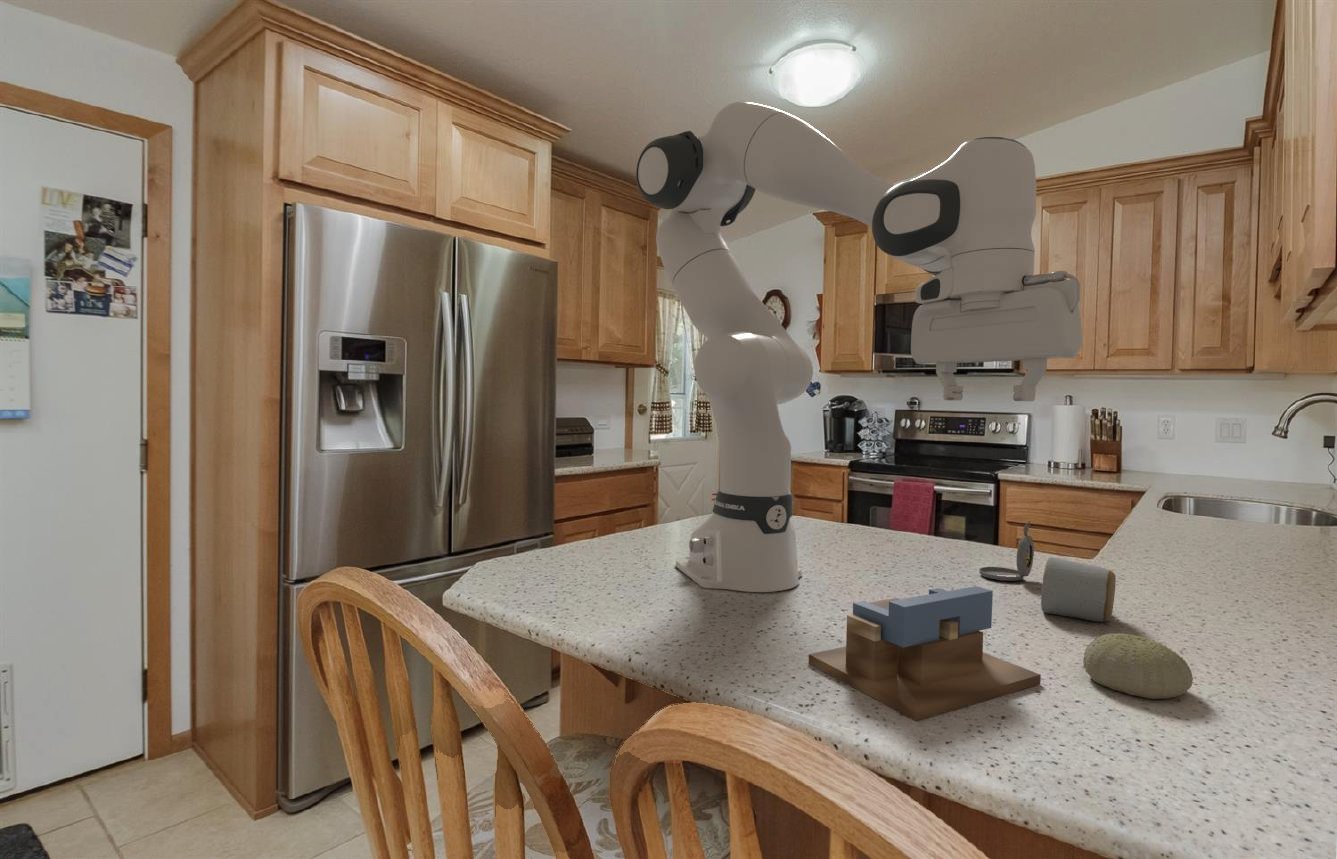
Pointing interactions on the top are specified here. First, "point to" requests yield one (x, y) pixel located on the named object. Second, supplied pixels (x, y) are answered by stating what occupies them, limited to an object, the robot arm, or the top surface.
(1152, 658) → the sea urchin shell
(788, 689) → the top surface
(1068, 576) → the ceramic mug
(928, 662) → the stand
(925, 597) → the blue stepped bracket
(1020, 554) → the pocket watch
